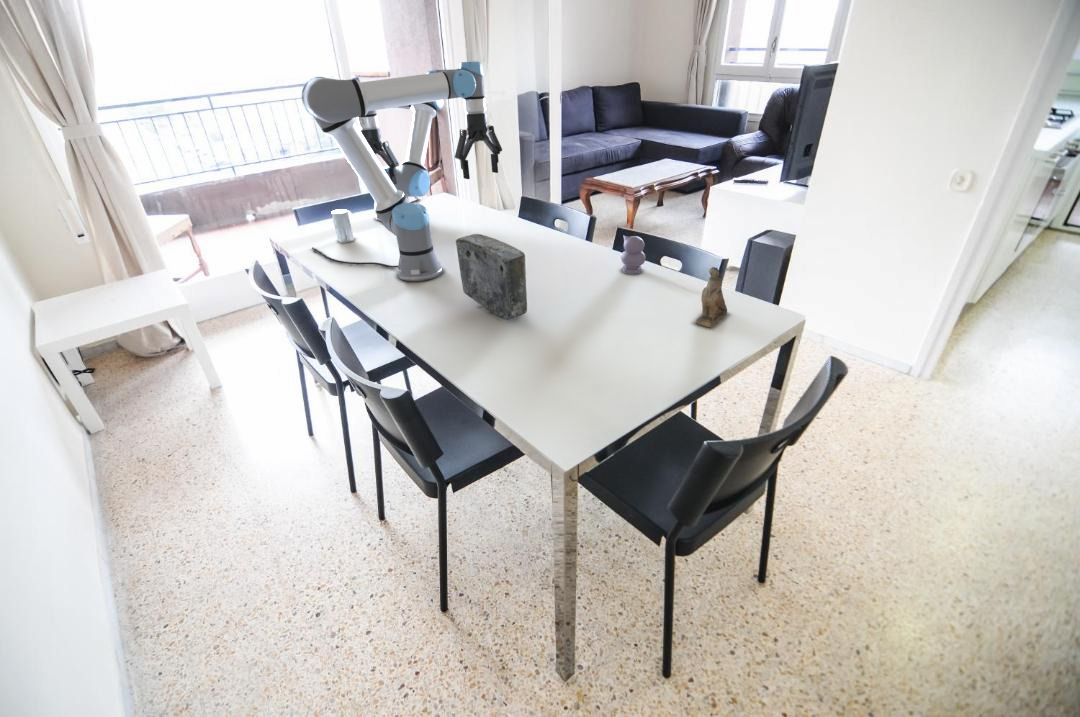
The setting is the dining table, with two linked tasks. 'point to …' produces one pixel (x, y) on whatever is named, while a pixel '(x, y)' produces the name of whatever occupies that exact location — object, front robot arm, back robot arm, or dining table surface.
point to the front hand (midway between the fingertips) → (481, 175)
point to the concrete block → (493, 274)
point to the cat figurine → (633, 254)
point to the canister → (342, 225)
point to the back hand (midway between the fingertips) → (380, 183)
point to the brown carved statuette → (712, 301)
